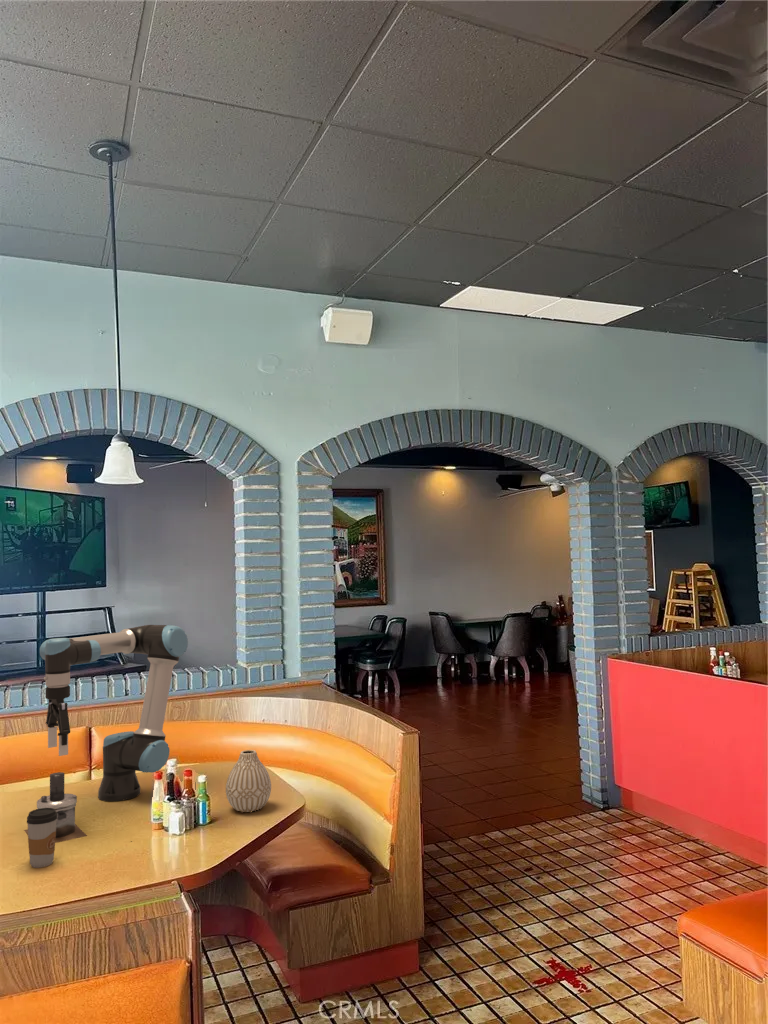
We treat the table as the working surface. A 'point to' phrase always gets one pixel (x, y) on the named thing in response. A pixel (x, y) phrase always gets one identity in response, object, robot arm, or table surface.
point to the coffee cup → (41, 836)
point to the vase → (248, 783)
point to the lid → (57, 794)
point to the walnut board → (75, 834)
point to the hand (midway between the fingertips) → (57, 751)
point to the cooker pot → (65, 821)
